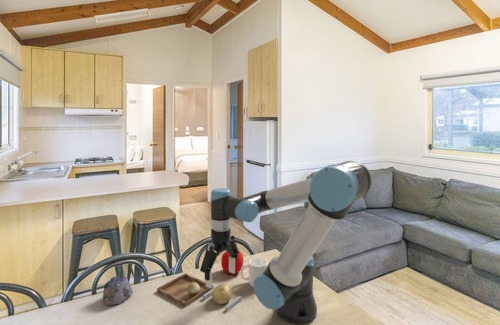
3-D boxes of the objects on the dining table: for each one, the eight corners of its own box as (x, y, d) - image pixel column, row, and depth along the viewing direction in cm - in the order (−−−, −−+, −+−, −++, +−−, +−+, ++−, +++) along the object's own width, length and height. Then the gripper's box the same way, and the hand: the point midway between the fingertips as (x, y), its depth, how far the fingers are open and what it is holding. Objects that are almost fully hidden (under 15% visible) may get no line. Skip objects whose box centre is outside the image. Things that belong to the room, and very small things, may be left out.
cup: (268, 289, 128) (268, 266, 126) (240, 288, 128) (240, 266, 126) (267, 278, 136) (267, 257, 134) (241, 278, 136) (241, 257, 135)
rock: (120, 281, 129) (121, 268, 123) (135, 298, 125) (136, 285, 119) (96, 298, 121) (95, 283, 115) (110, 316, 117) (111, 302, 111)
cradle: (241, 301, 119) (241, 296, 118) (227, 312, 112) (227, 307, 112) (217, 290, 126) (216, 286, 126) (202, 300, 120) (202, 295, 119)
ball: (202, 293, 124) (202, 282, 123) (193, 299, 120) (193, 287, 119) (194, 289, 126) (193, 278, 126) (185, 295, 122) (184, 283, 122)
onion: (208, 300, 120) (207, 284, 119) (223, 293, 125) (223, 277, 124) (219, 309, 114) (219, 292, 113) (236, 301, 119) (235, 285, 118)
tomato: (220, 267, 147) (220, 246, 145) (241, 265, 148) (241, 244, 147) (222, 278, 136) (222, 256, 135) (245, 276, 138) (245, 254, 137)
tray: (213, 289, 127) (213, 285, 127) (185, 308, 115) (185, 303, 114) (185, 277, 137) (185, 273, 137) (157, 292, 125) (157, 288, 125)
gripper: (233, 217, 127) (233, 264, 130) (189, 235, 107) (190, 290, 110) (247, 221, 123) (247, 269, 126) (204, 241, 103) (205, 297, 106)
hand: (220, 279), depth 118 cm, fingers open, 13 cm apart
